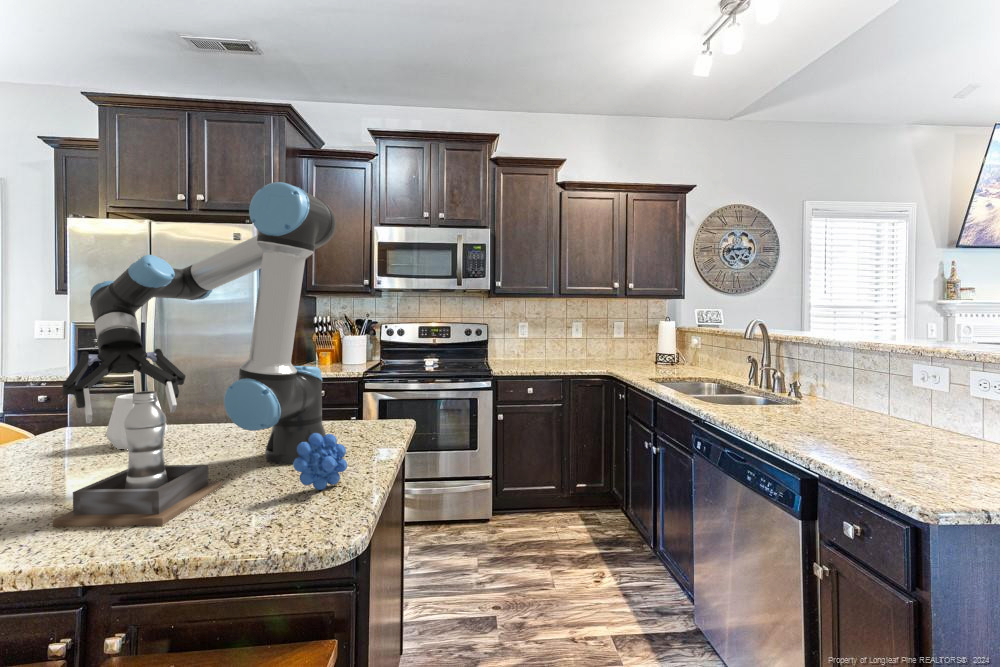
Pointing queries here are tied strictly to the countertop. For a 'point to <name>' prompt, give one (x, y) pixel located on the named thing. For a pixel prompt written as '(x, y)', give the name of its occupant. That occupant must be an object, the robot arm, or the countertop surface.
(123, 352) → the robot arm
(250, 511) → the countertop surface
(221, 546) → the countertop surface
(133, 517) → the bottle dock
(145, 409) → the plastic bottle
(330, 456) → the blue bumpy flower
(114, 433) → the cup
